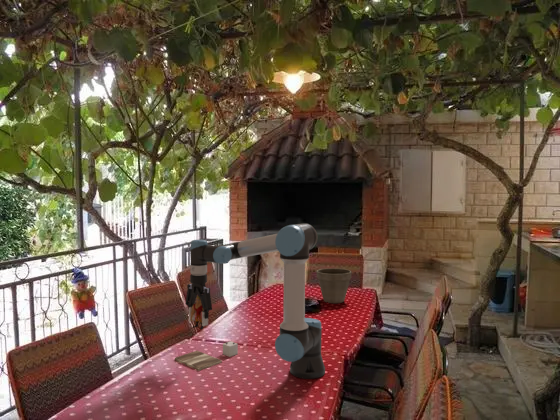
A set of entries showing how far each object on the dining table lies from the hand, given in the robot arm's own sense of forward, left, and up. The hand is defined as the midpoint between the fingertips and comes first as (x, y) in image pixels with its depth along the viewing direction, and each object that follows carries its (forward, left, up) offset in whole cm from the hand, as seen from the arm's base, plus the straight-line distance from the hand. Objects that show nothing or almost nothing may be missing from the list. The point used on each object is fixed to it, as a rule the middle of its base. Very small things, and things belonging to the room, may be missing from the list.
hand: (198, 323), depth 202 cm
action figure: (0, 0, -2) cm, 2 cm away
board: (0, 0, -18) cm, 18 cm away
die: (-4, -16, -18) cm, 24 cm away
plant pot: (+20, -135, -18) cm, 138 cm away
